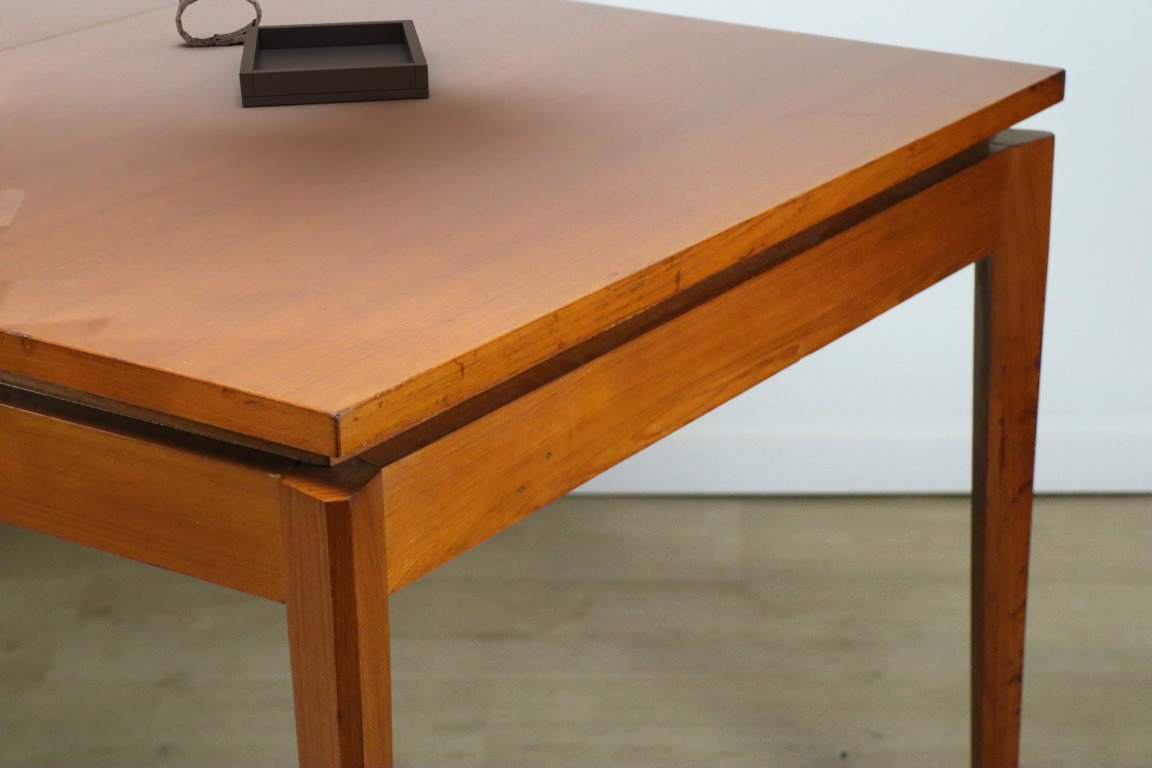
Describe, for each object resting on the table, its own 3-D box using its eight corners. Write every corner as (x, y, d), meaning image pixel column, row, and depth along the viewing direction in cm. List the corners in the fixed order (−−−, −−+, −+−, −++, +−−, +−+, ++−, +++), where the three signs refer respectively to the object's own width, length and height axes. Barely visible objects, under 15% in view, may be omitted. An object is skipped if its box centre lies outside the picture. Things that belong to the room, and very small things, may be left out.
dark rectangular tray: (242, 107, 94) (238, 73, 93) (250, 56, 107) (247, 26, 106) (429, 97, 96) (427, 64, 95) (414, 48, 109) (412, 19, 108)
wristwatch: (179, 40, 112) (171, -29, 110) (264, 36, 113) (258, -32, 111) (176, 50, 109) (167, -20, 107) (263, 46, 110) (257, -24, 108)
